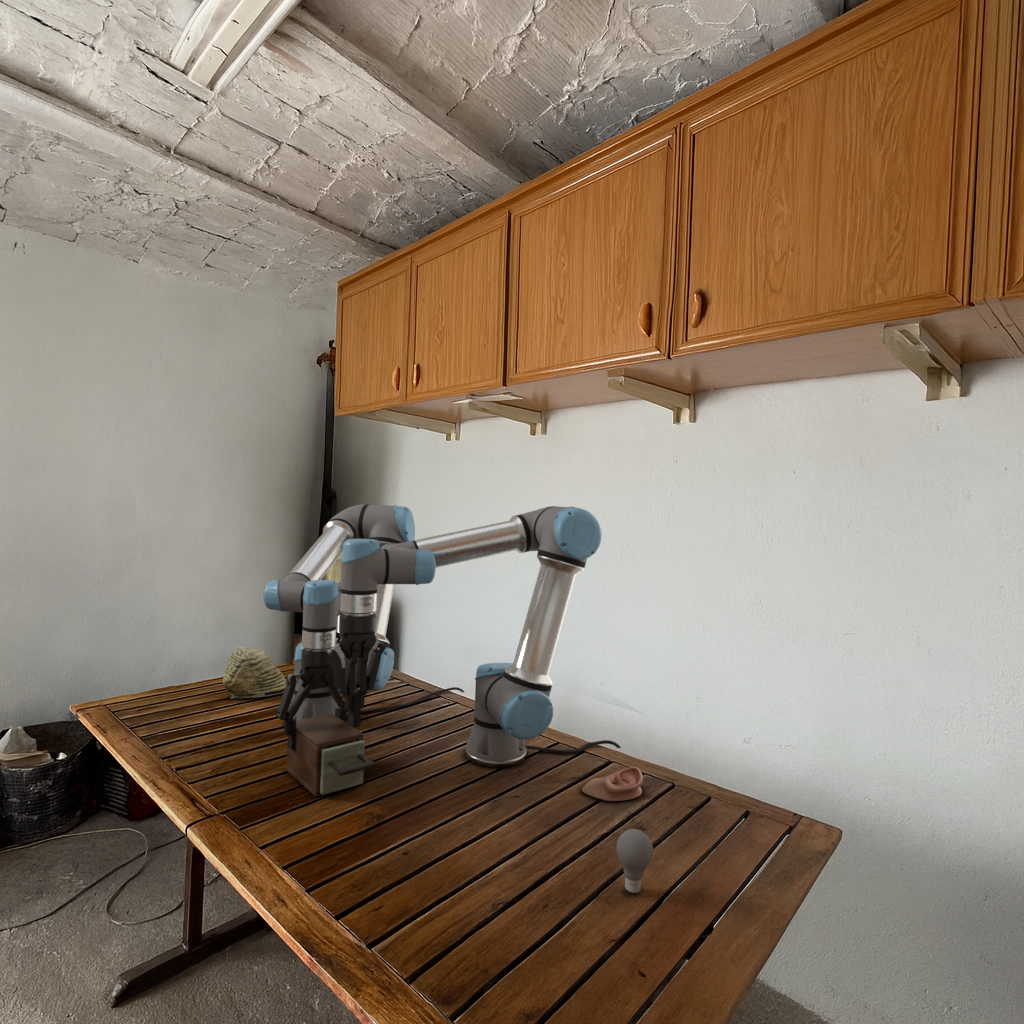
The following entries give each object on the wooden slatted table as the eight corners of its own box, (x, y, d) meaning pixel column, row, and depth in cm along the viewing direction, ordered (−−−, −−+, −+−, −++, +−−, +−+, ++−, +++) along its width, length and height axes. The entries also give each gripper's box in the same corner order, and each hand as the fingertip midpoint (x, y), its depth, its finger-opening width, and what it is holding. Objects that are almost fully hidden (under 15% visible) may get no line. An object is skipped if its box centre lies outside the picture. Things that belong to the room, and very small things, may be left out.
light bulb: (610, 879, 108) (613, 822, 108) (644, 879, 109) (647, 822, 109) (619, 902, 102) (622, 840, 102) (655, 901, 103) (658, 840, 103)
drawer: (377, 793, 134) (378, 750, 134) (335, 806, 128) (337, 761, 128) (333, 760, 150) (335, 721, 150) (294, 770, 144) (296, 729, 143)
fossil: (218, 695, 195) (220, 647, 195) (278, 685, 208) (279, 640, 207) (228, 703, 189) (230, 653, 188) (289, 692, 201) (290, 645, 201)
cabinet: (361, 783, 141) (363, 733, 140) (315, 796, 134) (317, 744, 133) (329, 759, 153) (331, 713, 152) (286, 770, 146) (288, 721, 145)
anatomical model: (581, 779, 138) (585, 758, 149) (580, 797, 138) (585, 775, 149) (643, 787, 135) (643, 766, 147) (642, 806, 136) (642, 783, 147)
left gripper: (274, 657, 136) (271, 759, 136) (371, 645, 151) (368, 736, 151) (262, 650, 141) (258, 748, 142) (356, 638, 157) (353, 727, 157)
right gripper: (337, 618, 125) (332, 737, 126) (394, 613, 134) (390, 724, 134) (320, 612, 131) (316, 725, 131) (377, 607, 139) (372, 714, 140)
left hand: (315, 742), depth 147 cm, fingers closed on cabinet, 11 cm apart
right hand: (353, 724), depth 133 cm, fingers closed
